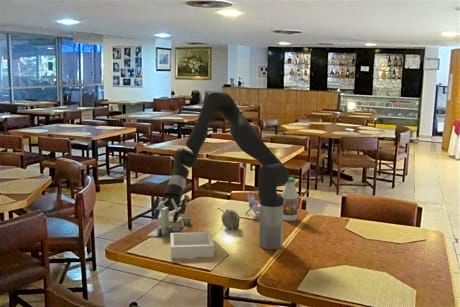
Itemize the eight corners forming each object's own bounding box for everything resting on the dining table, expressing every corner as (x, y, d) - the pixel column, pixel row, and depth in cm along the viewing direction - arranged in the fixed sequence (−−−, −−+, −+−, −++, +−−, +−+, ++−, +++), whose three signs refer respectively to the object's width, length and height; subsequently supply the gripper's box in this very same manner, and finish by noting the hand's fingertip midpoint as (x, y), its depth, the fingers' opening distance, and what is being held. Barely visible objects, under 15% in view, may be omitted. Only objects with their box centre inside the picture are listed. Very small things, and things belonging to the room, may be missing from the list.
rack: (166, 223, 218) (166, 215, 217) (191, 226, 215) (191, 218, 214) (146, 237, 199) (146, 228, 198) (173, 240, 196) (173, 231, 195)
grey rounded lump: (237, 236, 210) (241, 218, 205) (218, 232, 210) (222, 214, 205) (239, 223, 218) (242, 206, 213) (220, 220, 218) (224, 202, 213)
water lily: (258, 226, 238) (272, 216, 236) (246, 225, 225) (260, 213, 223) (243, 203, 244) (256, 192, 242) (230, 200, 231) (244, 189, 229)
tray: (214, 257, 179) (214, 245, 178) (171, 258, 177) (171, 247, 176) (209, 242, 194) (209, 231, 194) (170, 243, 192) (170, 233, 191)
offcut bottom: (167, 224, 213) (167, 220, 213) (183, 226, 211) (183, 222, 211) (161, 228, 208) (161, 224, 207) (178, 230, 206) (178, 226, 205)
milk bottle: (277, 217, 230) (279, 177, 227) (291, 215, 234) (292, 175, 230) (286, 222, 223) (287, 180, 220) (300, 220, 227) (301, 179, 223)
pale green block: (165, 231, 204) (165, 206, 202) (168, 231, 204) (168, 207, 202) (161, 234, 200) (161, 209, 199) (164, 234, 200) (164, 209, 198)
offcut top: (166, 220, 213) (166, 216, 212) (182, 222, 211) (182, 217, 211) (162, 224, 207) (162, 220, 207) (178, 225, 206) (178, 221, 205)
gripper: (158, 181, 209) (146, 214, 200) (188, 184, 205) (177, 217, 196) (163, 190, 215) (152, 222, 206) (192, 193, 211) (182, 226, 202)
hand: (164, 220), depth 201 cm, fingers open, 8 cm apart
